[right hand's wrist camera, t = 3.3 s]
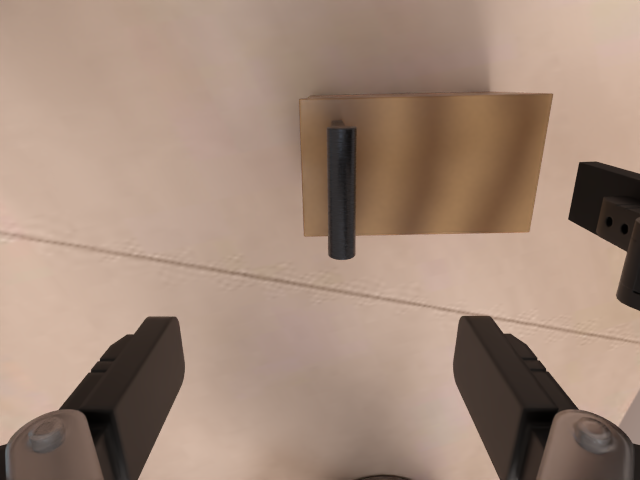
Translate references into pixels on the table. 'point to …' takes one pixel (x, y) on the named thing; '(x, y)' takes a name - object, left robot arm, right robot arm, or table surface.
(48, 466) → the right robot arm
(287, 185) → the table surface
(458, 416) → the table surface
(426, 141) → the lid
